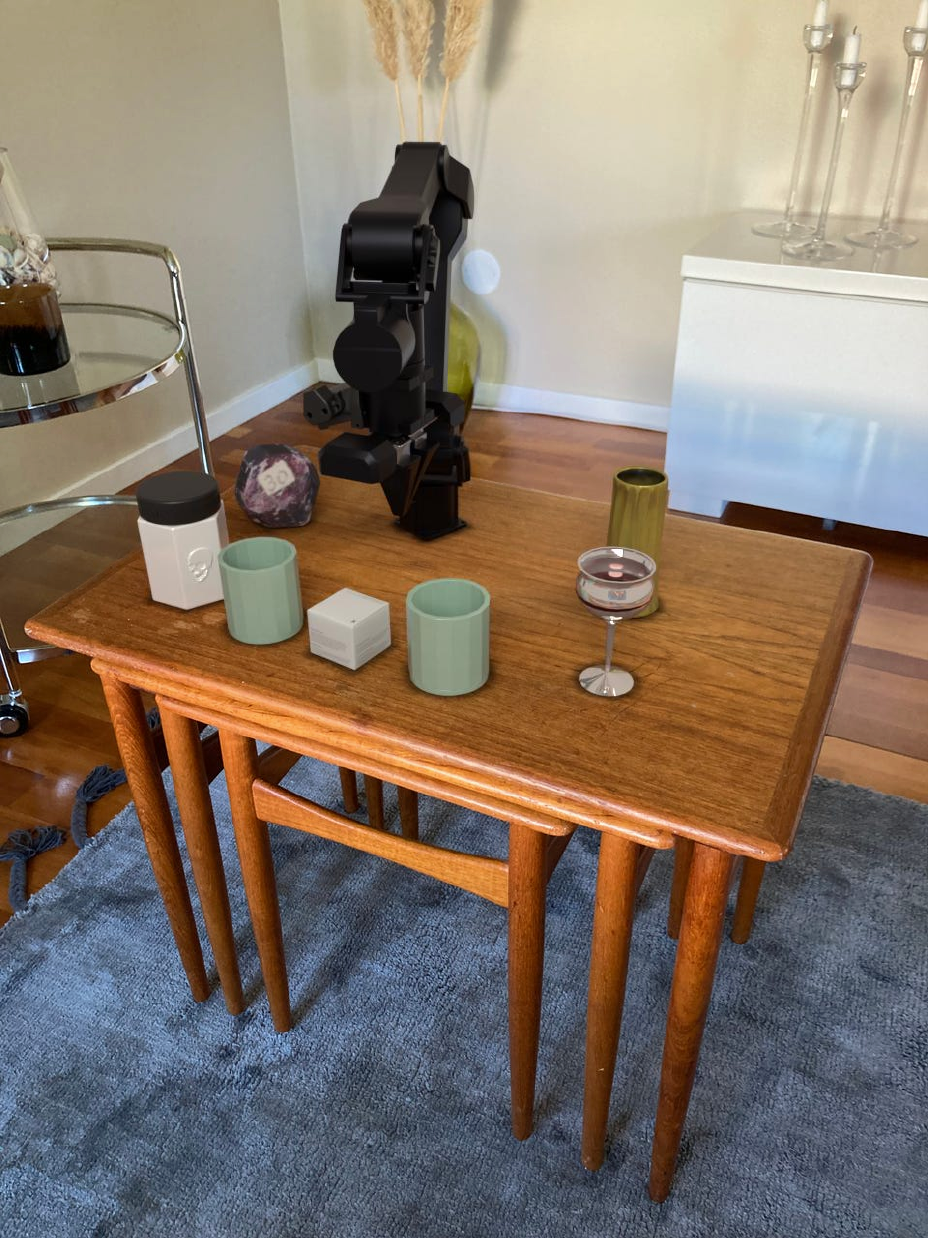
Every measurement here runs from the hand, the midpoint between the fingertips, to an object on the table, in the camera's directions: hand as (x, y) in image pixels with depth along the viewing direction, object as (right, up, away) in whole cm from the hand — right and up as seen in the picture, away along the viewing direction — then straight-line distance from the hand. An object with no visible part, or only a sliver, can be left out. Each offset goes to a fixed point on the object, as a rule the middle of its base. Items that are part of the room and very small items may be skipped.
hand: (399, 514), depth 95 cm
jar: (-22, -7, +7) cm, 25 cm away
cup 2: (+5, -15, -6) cm, 17 cm away
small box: (-4, -13, -3) cm, 14 cm away
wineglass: (+19, -16, -7) cm, 26 cm away
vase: (+23, -9, +4) cm, 26 cm away
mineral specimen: (-16, +2, +22) cm, 27 cm away
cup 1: (-13, -11, +1) cm, 17 cm away
